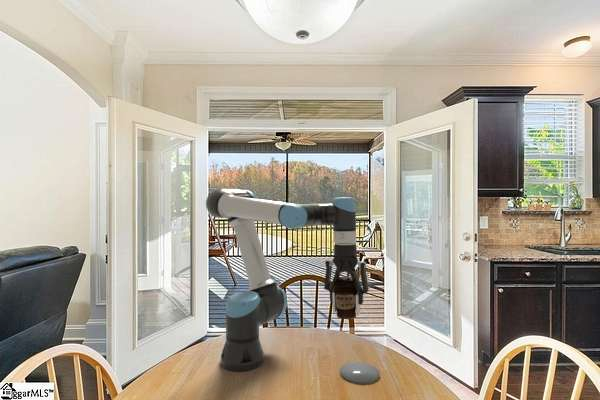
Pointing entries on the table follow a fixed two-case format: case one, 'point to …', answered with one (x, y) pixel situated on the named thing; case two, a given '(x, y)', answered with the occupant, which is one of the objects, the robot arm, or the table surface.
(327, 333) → the table surface
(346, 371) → the grey domed puck
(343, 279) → the coffee cup
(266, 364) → the table surface
